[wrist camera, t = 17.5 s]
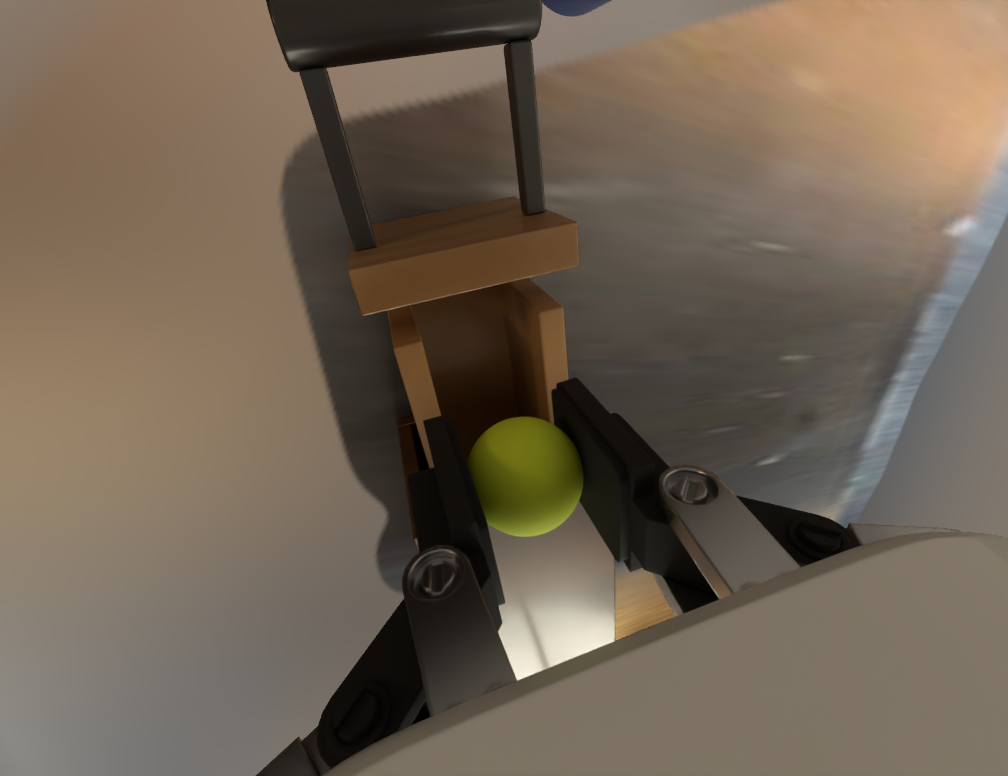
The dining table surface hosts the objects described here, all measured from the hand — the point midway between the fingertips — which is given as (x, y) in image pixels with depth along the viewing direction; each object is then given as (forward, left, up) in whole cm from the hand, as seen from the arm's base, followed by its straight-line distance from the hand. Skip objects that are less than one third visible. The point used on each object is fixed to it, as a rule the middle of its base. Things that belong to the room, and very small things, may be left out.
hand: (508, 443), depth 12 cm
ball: (0, 0, +1) cm, 1 cm away
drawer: (-2, -1, -7) cm, 7 cm away
